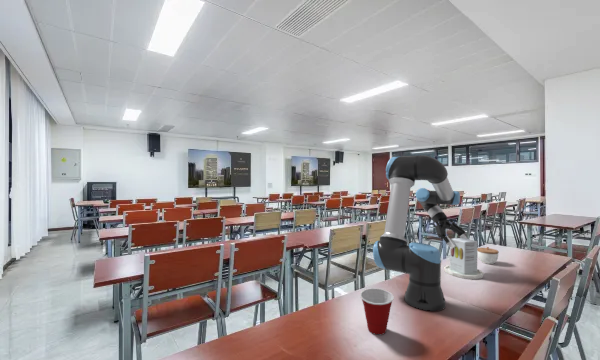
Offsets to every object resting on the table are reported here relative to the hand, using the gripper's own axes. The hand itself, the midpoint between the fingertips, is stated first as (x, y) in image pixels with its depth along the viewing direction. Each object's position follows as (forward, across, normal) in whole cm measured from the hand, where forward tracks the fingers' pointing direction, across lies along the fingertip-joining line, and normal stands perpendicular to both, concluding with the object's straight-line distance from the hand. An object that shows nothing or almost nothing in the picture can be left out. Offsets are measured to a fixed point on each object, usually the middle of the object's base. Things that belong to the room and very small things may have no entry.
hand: (461, 246), depth 149 cm
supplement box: (+10, 0, -8) cm, 13 cm away
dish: (+11, +1, -9) cm, 14 cm away
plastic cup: (+28, +81, +8) cm, 86 cm away
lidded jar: (+7, -31, -13) cm, 34 cm away
